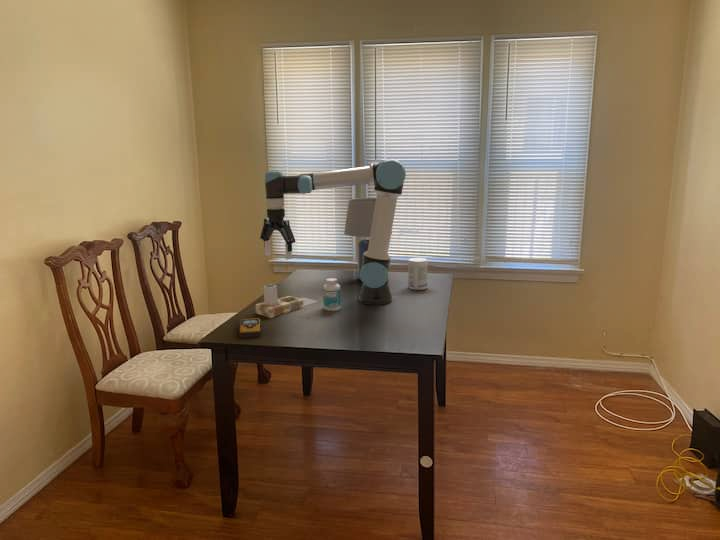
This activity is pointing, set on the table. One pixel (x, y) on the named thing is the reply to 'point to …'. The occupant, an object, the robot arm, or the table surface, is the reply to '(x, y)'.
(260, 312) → the socket block
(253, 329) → the electronic device
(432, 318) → the table surface
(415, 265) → the supplement tub
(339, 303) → the pill bottle
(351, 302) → the table surface
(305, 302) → the mat
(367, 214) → the lamp
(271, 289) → the plug
